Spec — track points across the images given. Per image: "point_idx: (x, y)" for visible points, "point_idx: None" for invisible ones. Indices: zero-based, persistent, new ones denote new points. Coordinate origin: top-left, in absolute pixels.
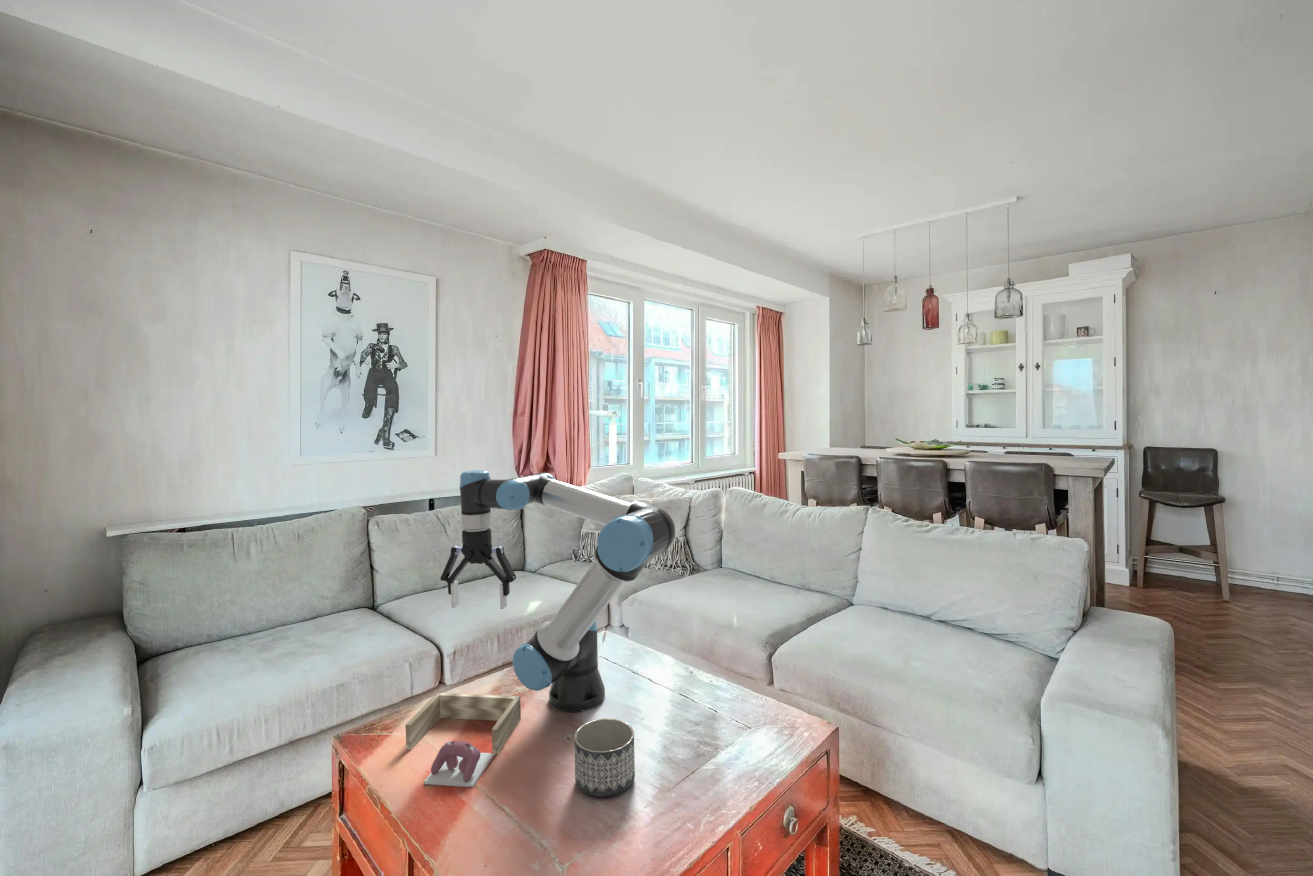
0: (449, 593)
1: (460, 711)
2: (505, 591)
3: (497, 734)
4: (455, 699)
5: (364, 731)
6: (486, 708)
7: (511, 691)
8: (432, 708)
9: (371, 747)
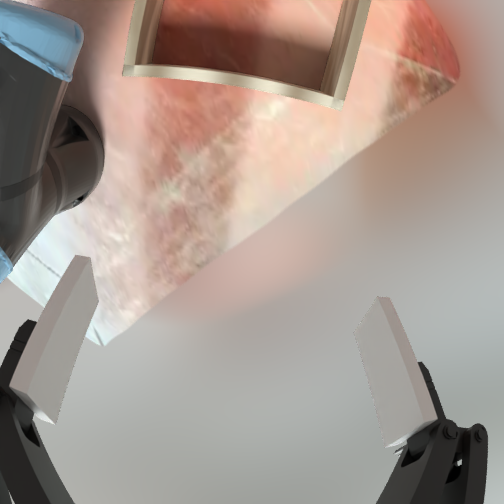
0: (420, 367)
1: (275, 80)
2: (24, 345)
3: None
4: (291, 85)
5: (440, 82)
6: (210, 69)
7: (189, 182)
8: (338, 63)
9: (416, 25)
